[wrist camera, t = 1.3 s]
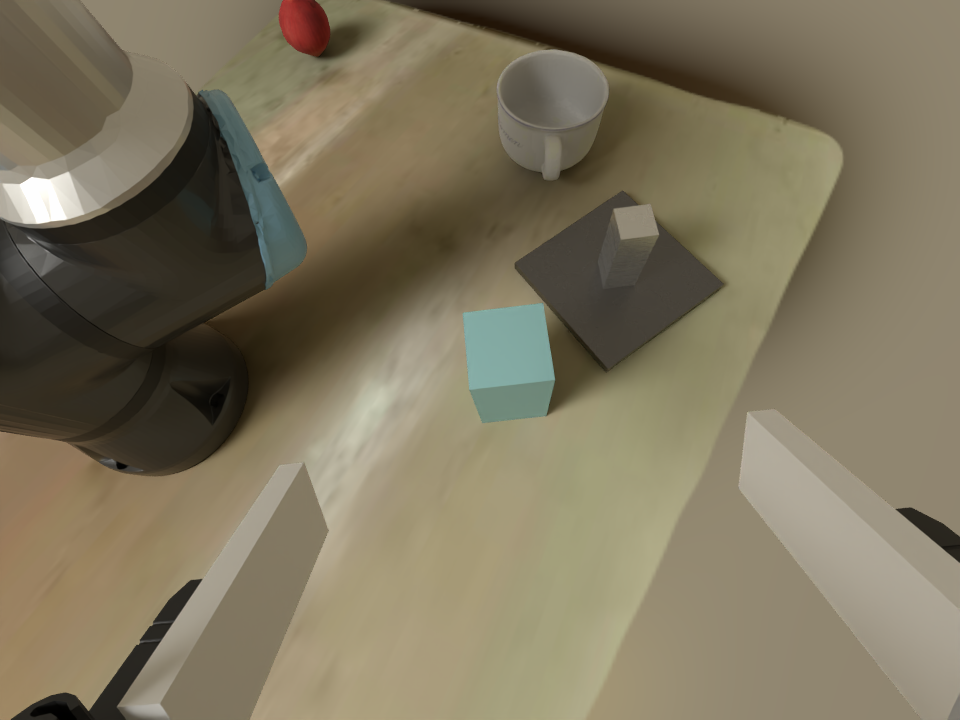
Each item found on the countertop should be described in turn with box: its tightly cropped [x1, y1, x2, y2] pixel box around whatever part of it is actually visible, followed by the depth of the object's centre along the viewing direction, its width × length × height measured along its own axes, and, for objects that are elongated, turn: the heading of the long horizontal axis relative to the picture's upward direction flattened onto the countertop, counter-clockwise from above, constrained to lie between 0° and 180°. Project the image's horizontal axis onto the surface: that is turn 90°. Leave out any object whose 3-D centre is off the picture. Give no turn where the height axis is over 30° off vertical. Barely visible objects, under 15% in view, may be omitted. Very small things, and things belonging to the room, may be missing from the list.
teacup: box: [497, 49, 609, 181], centre depth 46 cm, size 14×11×8 cm
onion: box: [279, 0, 330, 57], centre depth 55 cm, size 6×6×8 cm
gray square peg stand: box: [515, 191, 723, 372], centre depth 40 cm, size 14×14×9 cm
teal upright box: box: [463, 303, 555, 423], centre depth 36 cm, size 6×6×11 cm
